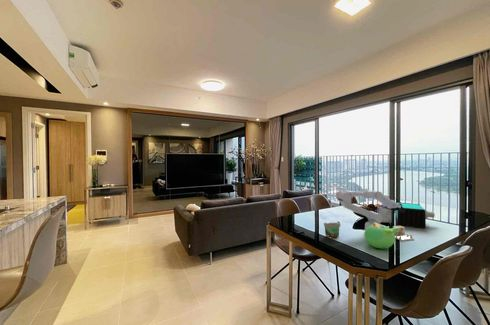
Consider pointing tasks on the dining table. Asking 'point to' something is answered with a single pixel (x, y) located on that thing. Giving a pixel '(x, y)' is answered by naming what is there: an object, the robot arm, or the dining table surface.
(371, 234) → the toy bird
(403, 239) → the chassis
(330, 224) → the food container
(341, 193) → the robot arm
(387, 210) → the ink cartridge box
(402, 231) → the birch block
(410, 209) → the electronic device
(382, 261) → the dining table surface
